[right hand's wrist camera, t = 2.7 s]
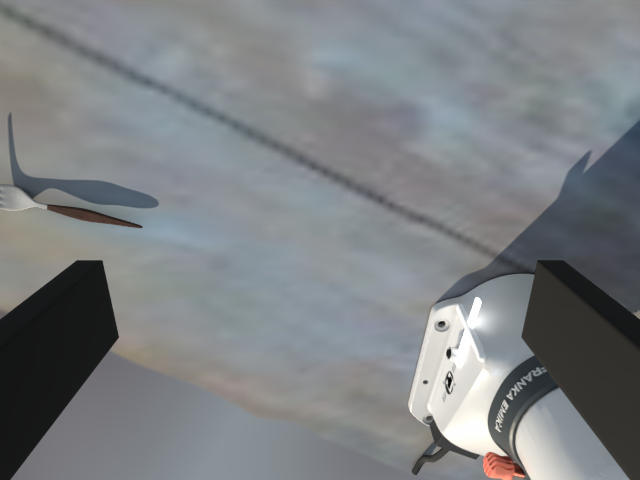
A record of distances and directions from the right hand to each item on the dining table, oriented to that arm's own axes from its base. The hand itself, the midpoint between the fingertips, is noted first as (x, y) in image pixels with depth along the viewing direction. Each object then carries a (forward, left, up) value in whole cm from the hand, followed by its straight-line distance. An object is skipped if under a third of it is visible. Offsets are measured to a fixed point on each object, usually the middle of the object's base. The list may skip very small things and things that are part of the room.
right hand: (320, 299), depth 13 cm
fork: (+6, -25, -28) cm, 38 cm away
